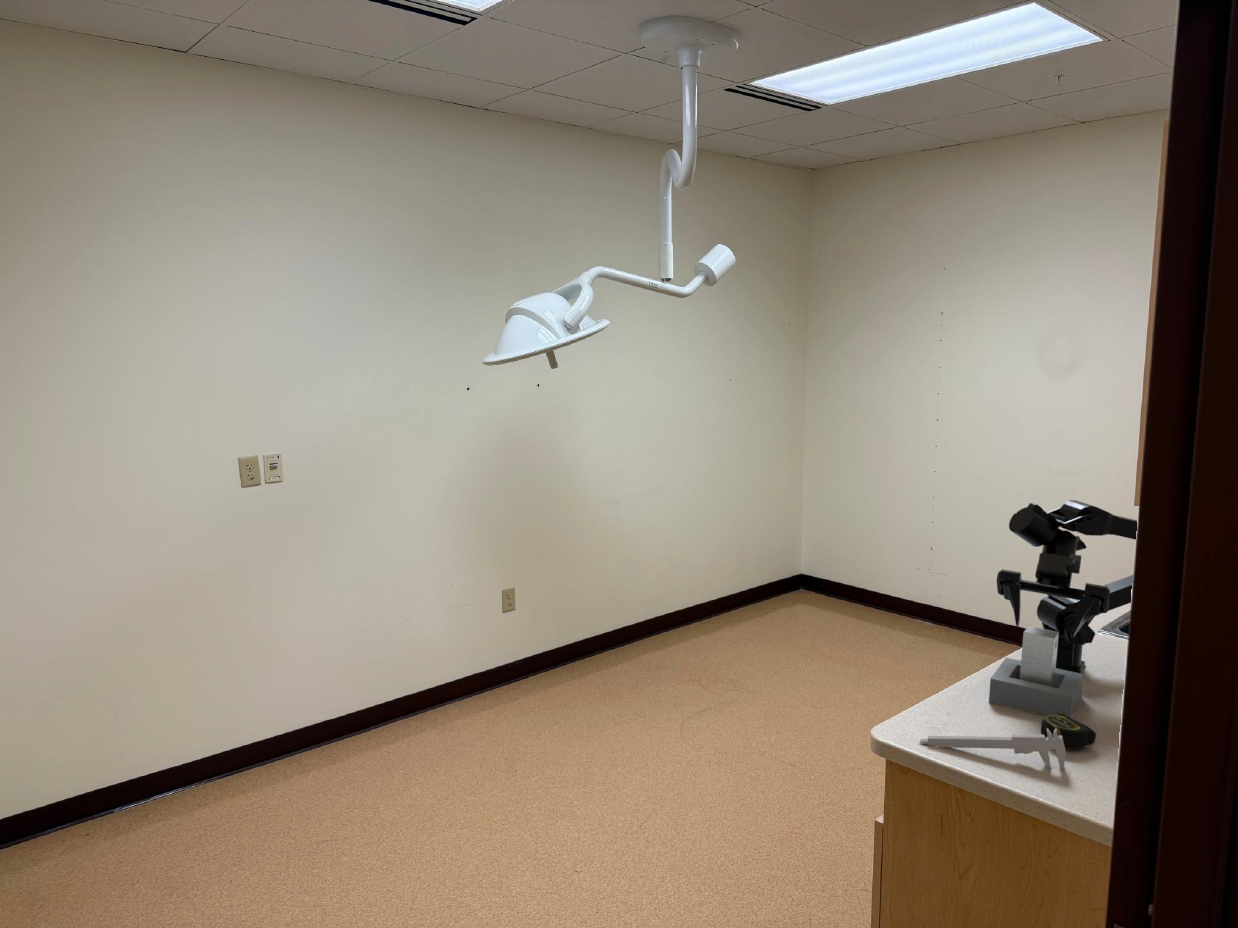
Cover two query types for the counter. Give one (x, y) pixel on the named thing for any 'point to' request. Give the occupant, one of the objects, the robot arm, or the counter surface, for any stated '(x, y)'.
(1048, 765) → the caliper
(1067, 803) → the counter surface
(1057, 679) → the block
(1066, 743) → the tape measure
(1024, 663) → the light gray rectangular block
